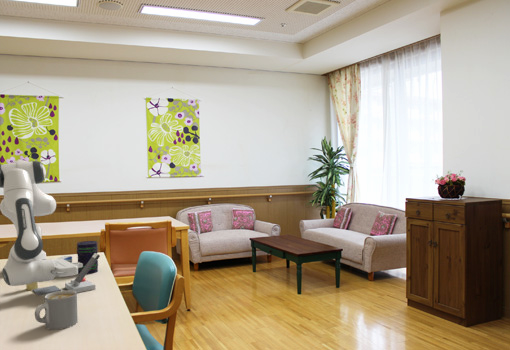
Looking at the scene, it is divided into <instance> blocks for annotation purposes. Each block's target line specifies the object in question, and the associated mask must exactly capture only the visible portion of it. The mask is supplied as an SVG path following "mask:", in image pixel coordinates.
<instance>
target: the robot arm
mask: <svg viewBox="0 0 510 350" xmlns="http://www.w3.org/2000/svg"><path fill="white" fill-rule="evenodd" d="M46 174H47V170H46V167H45V165H44V164H43V162H41V161H36V160H33V161H27V160H24V159H18V160H15V161H12V162H11V163H5V164H0V188H3V199H2V200H1V202H0V212H1V214H2V215H3V216H5V217H6V218H8V219H9V220H10V221H11V222H12V224H13V225H14V227H15V230H16V237H17V238H16V240H15V242H14V244H13V245H12V247H11V248H10V250H9V253H8V254H9V255H8V258H7V261H6V264H5V265H4V266H3V268H2V269H1V270H2V272H1V273H2V278H3V281H4V282H5V284H6V285H8V286H11V287H18V286H19V287H20V286H26V285H27V284H31V283H33V282H38V283H43V282H49V281H53V280H54V279H55V278H56V277H55V276H58V277H57V278H65V277H71V276H72V277H73V276H76V275H77V276H78V275H79V274H78V268H81V267H83V264H82V263H80V262H78V261H77V262H78V263H77V262H72V263H70V262H68V261H66V260H64V259H58V258H53V259H52V258H47V253H46V251H44V250H43V249H44V244H43V243H44V241H43V240H42V228H41V226H40V225H39V224H37V223H36V219H35V217H42V216H47V215H52V214H54V212H55V211H56V209H57V201H56V199H55V198H54V196H52V195H50V194H47V193H45V192H43V191H42V190H41V189H40V188H39V187H38V184H40V183H43V182H44V181H45V180H46Z"/></svg>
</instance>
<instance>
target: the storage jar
mask: <svg viewBox="0 0 510 350" xmlns="http://www.w3.org/2000/svg"><path fill="white" fill-rule="evenodd" d="M98 249H99V247H98V241H97V240H85V241H79V242H78V241H77V242H76V255H77V262H76V263H78V262H80V263H82V264H83V267H81V268H78V274H77V275H79V273H80V272H81V271H82V269H83V268H84V267H85V265H86V264H87V263H88V261H89V260H90V259H91V258H92V256H93V255H94V253H96V254H99V252H98V251H99V250H98ZM98 268H99V259H98V260H97V261H96V262H95V264H94V265H93V266H92V268H91V269H90V270H89V272H88V273H87V274H86V275H92V274H96V273H98V272H99V269H98Z"/></svg>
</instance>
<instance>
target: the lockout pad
mask: <svg viewBox="0 0 510 350" xmlns="http://www.w3.org/2000/svg"><path fill="white" fill-rule="evenodd" d="M32 291H33V292H34V293H35V294H36V295H37V296H42V295H47V294H50V293H53V292H58V291H62V289H61V288H59V287H58V286H57V285H49V286H45V287H38V289H33V290H32Z"/></svg>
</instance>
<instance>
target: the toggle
mask: <svg viewBox="0 0 510 350" xmlns="http://www.w3.org/2000/svg"><path fill="white" fill-rule="evenodd" d="M100 257H101V255H100V254H99V253H97V254H96V253H94V255H93V256H92V258H91V259H90V260H89V261H88V263H87V264H86V265H85V267H84V268H83V269H82V271H81V272H80V273H79V274H77V276H76V277H75V278H74V279H75V280H73V279H72V280H73V281H72V283H73V284H75V285H76V286H79V285H80V282H81V281H82V279H83V278H86V277H85V276H86V275H88V274H87V273H88V272H89V270H90V269H91V268H92V266H93V265H94V264H95V262H96V261H97V260H98V261H99V259H100Z"/></svg>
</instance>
